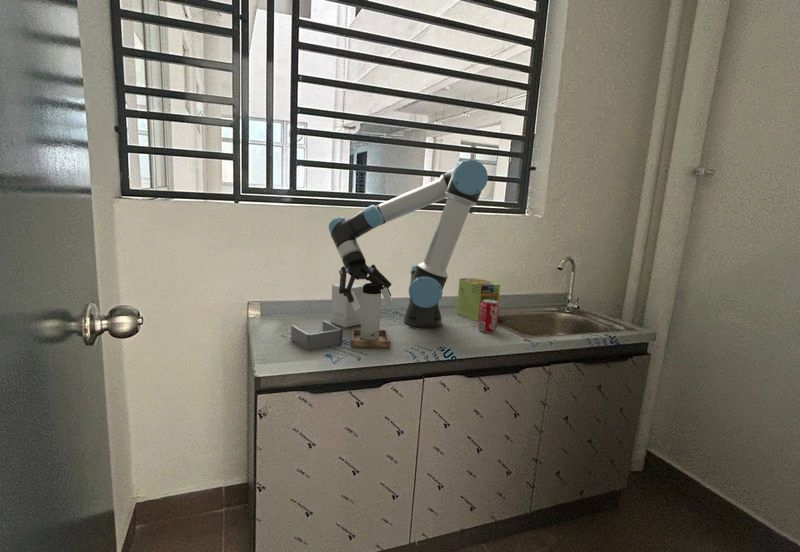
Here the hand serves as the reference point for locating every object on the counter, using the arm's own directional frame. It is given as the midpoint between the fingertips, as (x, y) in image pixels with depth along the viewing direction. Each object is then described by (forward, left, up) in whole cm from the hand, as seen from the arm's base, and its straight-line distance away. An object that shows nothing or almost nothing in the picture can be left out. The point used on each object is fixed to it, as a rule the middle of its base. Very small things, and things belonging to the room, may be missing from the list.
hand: (374, 307), depth 147 cm
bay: (+19, -1, -12) cm, 23 cm away
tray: (+1, -2, -12) cm, 13 cm away
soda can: (-45, -18, -13) cm, 50 cm away
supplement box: (+9, -23, -13) cm, 28 cm away
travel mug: (+1, -2, -12) cm, 12 cm away
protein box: (-46, -39, -13) cm, 62 cm away
